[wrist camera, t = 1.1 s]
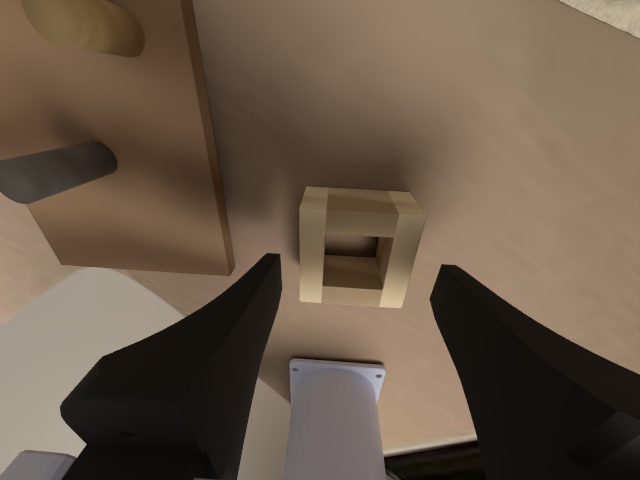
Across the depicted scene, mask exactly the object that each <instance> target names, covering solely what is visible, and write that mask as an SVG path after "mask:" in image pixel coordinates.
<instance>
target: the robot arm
mask: <svg viewBox="0 0 640 480" xmlns="http://www.w3.org/2000/svg"><path fill="white" fill-rule="evenodd" d="M281 291H282V279H281V259H280V254H272V253H267V254H265V255H264V256H263V257H262V258H261V259H260V260H259V261H258V262H257V263H256V264H255V265H254V266H253V267H252V268H251V269H250V270H249V271H248V272H247V273H245V274H244V275H243V276H242V277H241V278H240V279H239V280H238V281H237V282H235V283H234V284H233V285H232V286H231V287H229V288H228V289H227V290H226V291H224V292H223V293H222V294H221V295H219V296H218V297H217V298H215V299H214V300H212V301H211V302H209V303H208V304H207V305H205V306H204V307H202V308H200V309H199V310H197V311H196V312H194V313H192V314H190V315H189V316H187V317H185V318H184V319H182V320H180V321H179V322H177V323H175V324H174V325H171V326H169V327H167V328H166V329H164V330H162V331H160V332H158V333H155V334H154V335H151V336H149V337H147V338H145V339H143V340H141V341H139V342H136V343H134V344H131V345H129V346H127V347H124V348H122V349H120V350H117V351H115V352H113V353H111V354H108V355H105V356H103V357H102V358H101V359H100V360H99V361H98V362H97V363H96V364H95V365H94V367H93V368H92V369H91V370H90V371H89V372H88V373H87V375H86V376H85V377H84V378H83V379H82V380H81V382H80V383H79V384H78V385H77V386H76V387H75V388H74V389H73V391H72V392H71V393H70V394H69V395H68V396H67V398H65V400H64V401H63V402H62V404H61V406H60V412H61V417H62V418H63V420H64V421H65V422H66V424H67V425H68V426H69V427H70V428H71V429H72V430H73V431H74V432H75V433H76V434H77V435H78V436H79V437H80V438H81V439H82V440H83V441H84V442H85V443H86V444H87V445H86V446H85V448H84V449H83V451H82V452H81V453H80V455H79V456H78V458H76V457H74V456H71V455H69V454H63V453H54V452H43V451H32V450H25V451H22V452H20V453H19V455H18V456H17V457H16V458H15V459H14V460H13V462H12V463H11V464H10V465H9V466H8V467H7V468H6V470H5V471H4V472H3V473H2V474H1V475H0V480H237V476H238V470H239V465H240V460H241V454H242V449H243V443H244V438H245V433H246V427H247V423H248V418H249V413H250V408H251V404H252V399H253V394H254V389H255V384H256V381H257V376H258V372H259V367H260V363H261V360H262V356H263V353H264V350H265V347H266V344H267V341H268V338H269V335H270V332H271V329H272V326H273V323H274V319H275V316H276V313H277V310H278V306H279V302H280V297H281ZM430 302H431V306H432V310H433V313H434V317H435V320H436V323H437V325H438V327H439V330H440V332H441V335H442V337H443V339H444V342H445V344H446V346H447V348H448V351H449V353H450V355H451V358H452V360H453V362H454V365H455V367H456V370H457V372H458V375H459V377H460V380H461V384H462V387H463V390H464V393H465V396H466V399H467V403H468V406H469V410H470V413H471V417H472V420H473V424H474V427H475V431H476V435H477V439H478V443H479V447H480V450H481V454H482V458H483V462H484V467H485V471H486V476H487V480H640V375H639V374H637V373H635V372H633V371H631V370H628V369H626V368H624V367H622V366H620V365H617V364H615V363H613V362H611V361H609V360H607V359H605V358H603V357H601V356H599V355H597V354H595V353H593V352H591V351H589V350H587V349H585V348H583V347H581V346H579V345H577V344H575V343H573V342H571V341H570V340H568V339H566V338H564V337H562V336H561V335H559V334H557V333H555V332H554V331H552V330H550V329H548V328H547V327H545V326H543V325H542V324H540V323H538V322H537V321H535V320H533V319H532V318H530V317H529V316H527V315H526V314H524V313H523V312H521V311H520V310H518V309H517V308H515V307H514V306H512V305H511V304H509V303H508V302H506V301H505V300H503V299H502V298H501V297H499V296H498V295H496V294H495V293H494V292H492V291H491V290H490V289H488V288H487V287H486V286H484V285H483V284H481V283H480V282H479V281H477V280H476V279H475V278H473V277H472V276H471V275H469V274H468V273H467V272H465V271H464V270H462V269H461V268H459V267H458V266H456V265H444V264H442V265H441V268H440V271H439V274H438V276H437V279H436V282H435V285H434V288H433V291H432V293H431V296H430ZM289 368H290V395H291V419H290V426H289V432H288V439H287V446H286V453H285V461H284V468H283V475H282V480H386V473H385V465H384V458H383V450H382V442H381V434H380V426H379V418H378V410H377V401H378V398H379V394H380V391H381V387H382V384H383V380H384V377H385V373H386V370H385V367H384V366H383V365H377V364H363V363H350V362H337V361H324V360H311V359H298V358H294V359H291V360H290V364H289Z"/></svg>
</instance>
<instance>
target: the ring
mask: <svg viewBox="0 0 640 480" xmlns="http://www.w3.org/2000/svg"><path fill="white" fill-rule="evenodd" d="M426 217H427V215H426V214H425V212H424V211H423V210H422V208H421V207H420V205H419V204H418V203H417V201H416V200H415V198H414V197H413V196H412V194H411V193H410V192H400V191H382V190H364V189H346V188H328V187H310V186H306V189H305V192H304V195H303V199H302V202H301V205H300V208H299V223H300V301H303V302H317V303H332V304H346V305H361V306H375V307H390V308H401V307H402V304H403V300H404V296H405V293H406V289H407V286H408V282H409V278H410V275H411V271H412V268H413V264H414V260H415V257H416V253H417V250H418V246H419V242H420V239H421V235H422V232H423V228H424V224H425V221H426ZM326 234H341V235H358V236H374V237H379V241H378V246H377V252H376V257H375V258H369V257H353V256H337V255H325V238H326Z"/></svg>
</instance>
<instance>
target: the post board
mask: <svg viewBox="0 0 640 480" xmlns="http://www.w3.org/2000/svg"><path fill="white" fill-rule="evenodd" d="M0 192H1V193H2V194H3V195H5V196H6V197H8V198H9V199H11V200H13V201H15V202H18V203H22V204H26V205H27V207H28V209H29V210H30V212H31V214H32V216H33V217H34V219H35V221H36V222H37V224H38V226H39V227H40V229H41V231H42V232H43V234H44V236H45V237H46V239H47V241H48V243H49V244H50V246H51V248H52V249H53V251H54V253H55V254H56V256H57V258H58V259H59V261H60V263H61V265H73V266H88V267H103V268H118V269H132V270H147V271H162V272H177V273H192V274H207V275H222V276H230V275H231V273H232V271H233V270H234V268H235V262H234V256H233V250H232V244H231V238H230V231H229V225H228V219H227V213H226V207H225V201H224V195H223V189H222V182H221V176H220V170H219V164H218V158H217V152H216V146H215V140H214V133H213V127H212V121H211V115H210V109H209V103H208V97H207V90H206V84H205V78H204V72H203V66H202V60H201V54H200V48H199V41H198V35H197V29H196V23H195V17H194V11H193V5H192V0H0Z"/></svg>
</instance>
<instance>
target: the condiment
mask: <svg viewBox="0 0 640 480" xmlns="http://www.w3.org/2000/svg"><path fill="white" fill-rule="evenodd" d="M559 1H562V2H563V3H565V4H567V5H569V6H571V7H573V8H575V9H577V10H579V11H581V12H583V13H586V14H588V15H590V16H593V17H595V18H597V19H599V20H601V21H603V22H606V23H608V24H610V25H612V26H613V27H616V28H618V29H620V30H623V31H626V32H628V33H630V34H632V35H633V36H635V37H638V38H640V0H559Z"/></svg>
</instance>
